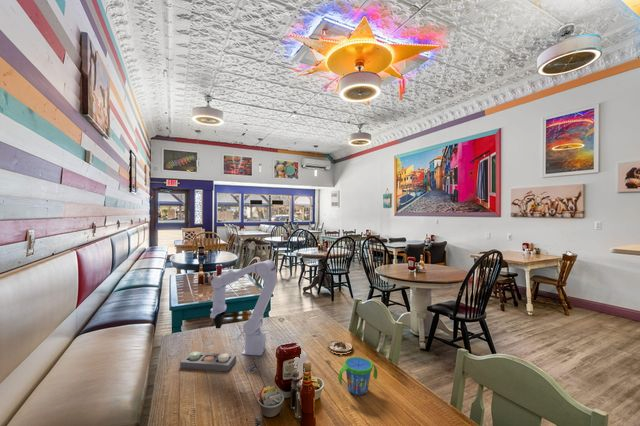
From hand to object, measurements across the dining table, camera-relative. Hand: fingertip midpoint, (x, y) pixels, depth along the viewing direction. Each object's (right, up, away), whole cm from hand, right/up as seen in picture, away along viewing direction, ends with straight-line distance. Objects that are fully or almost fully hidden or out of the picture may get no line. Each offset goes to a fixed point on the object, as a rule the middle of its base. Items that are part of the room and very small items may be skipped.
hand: (218, 327), depth 143 cm
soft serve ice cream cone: (+40, -11, -30) cm, 52 cm away
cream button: (+8, -8, -17) cm, 20 cm away
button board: (+1, -9, -16) cm, 19 cm away
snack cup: (+64, -11, -32) cm, 73 cm away
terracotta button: (+1, -9, -16) cm, 19 cm away
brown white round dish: (+60, -12, +1) cm, 61 cm away
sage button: (-5, -7, -16) cm, 18 cm away
